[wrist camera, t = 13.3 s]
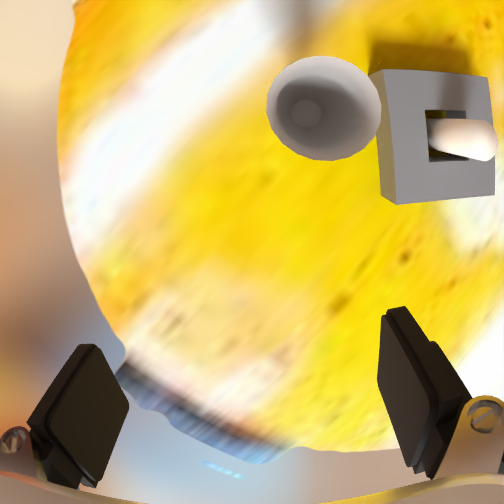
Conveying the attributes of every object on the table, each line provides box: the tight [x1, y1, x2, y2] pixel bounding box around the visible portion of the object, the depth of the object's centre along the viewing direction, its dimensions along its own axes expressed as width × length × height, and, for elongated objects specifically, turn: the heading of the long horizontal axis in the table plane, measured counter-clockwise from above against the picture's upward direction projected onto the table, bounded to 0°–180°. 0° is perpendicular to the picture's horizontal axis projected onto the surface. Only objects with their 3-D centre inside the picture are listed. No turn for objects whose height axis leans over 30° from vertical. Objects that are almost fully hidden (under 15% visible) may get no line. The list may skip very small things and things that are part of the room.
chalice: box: [266, 56, 381, 161], centre depth 26 cm, size 7×7×18 cm
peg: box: [426, 118, 498, 161], centre depth 29 cm, size 4×4×12 cm
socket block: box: [368, 69, 495, 205], centre depth 32 cm, size 15×15×5 cm
